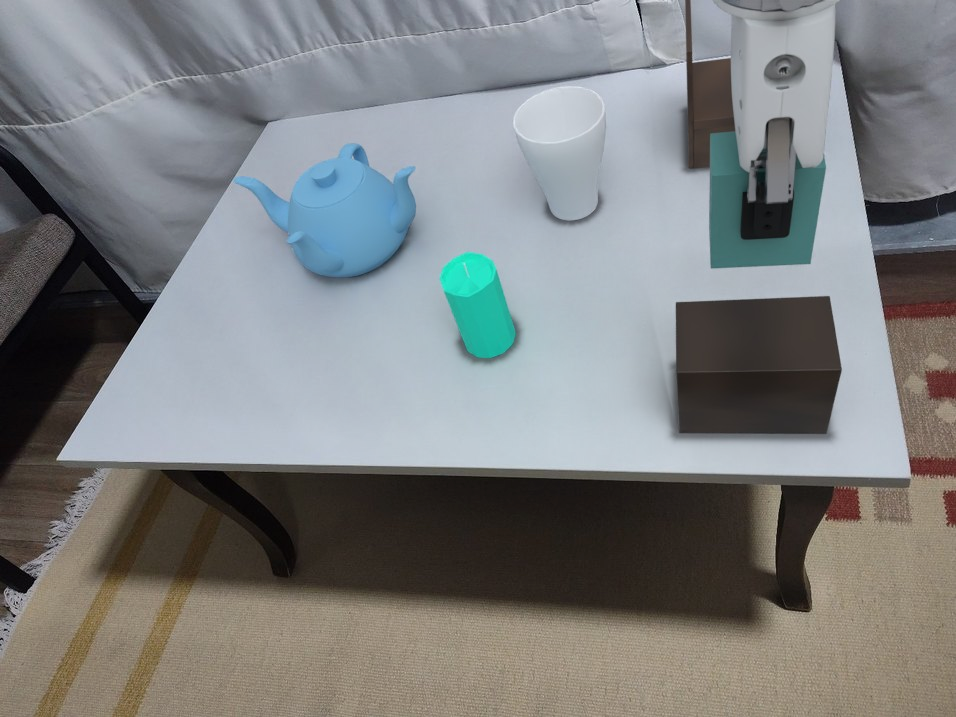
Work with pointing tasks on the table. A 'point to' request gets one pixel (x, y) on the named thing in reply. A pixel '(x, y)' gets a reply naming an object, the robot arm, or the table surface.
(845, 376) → the table surface
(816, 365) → the dark brown box
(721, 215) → the block
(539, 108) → the cup
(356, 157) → the teapot
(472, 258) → the candle
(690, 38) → the shelf
